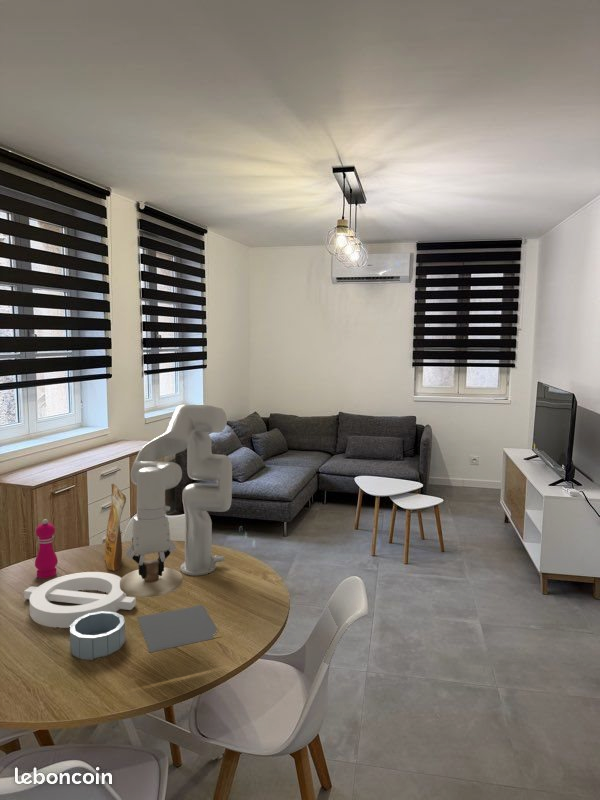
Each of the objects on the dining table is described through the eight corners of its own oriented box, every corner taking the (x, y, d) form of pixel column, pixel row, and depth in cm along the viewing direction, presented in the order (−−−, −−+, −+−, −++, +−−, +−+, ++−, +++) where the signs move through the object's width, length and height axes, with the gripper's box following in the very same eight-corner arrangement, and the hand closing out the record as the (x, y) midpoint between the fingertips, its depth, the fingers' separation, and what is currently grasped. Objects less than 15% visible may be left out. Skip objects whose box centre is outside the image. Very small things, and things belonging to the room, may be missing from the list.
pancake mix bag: (121, 551, 215) (120, 481, 211) (127, 571, 197) (126, 495, 194) (103, 554, 212) (101, 483, 209) (107, 574, 195) (106, 497, 191)
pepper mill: (61, 570, 196) (60, 516, 194) (50, 579, 189) (49, 523, 187) (42, 569, 197) (41, 515, 195) (30, 578, 190) (29, 522, 188)
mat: (202, 606, 173) (202, 604, 173) (221, 638, 155) (221, 636, 155) (137, 618, 165) (137, 617, 165) (149, 654, 147) (149, 652, 147)
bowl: (120, 627, 160) (120, 607, 159) (127, 652, 147) (127, 631, 147) (69, 637, 154) (68, 617, 153) (72, 664, 142) (71, 642, 141)
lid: (174, 566, 166) (174, 547, 166) (189, 589, 151) (189, 568, 151) (115, 576, 159) (115, 556, 158) (125, 601, 143) (125, 579, 143)
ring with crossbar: (22, 599, 176) (21, 584, 175) (111, 578, 192) (110, 565, 192) (40, 639, 153) (39, 622, 153) (139, 611, 170) (139, 597, 169)
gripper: (177, 505, 160) (177, 565, 162) (117, 511, 152) (118, 575, 154) (184, 512, 153) (184, 575, 155) (121, 520, 146) (122, 586, 148)
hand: (151, 574), depth 155 cm, fingers closed on lid, 4 cm apart
